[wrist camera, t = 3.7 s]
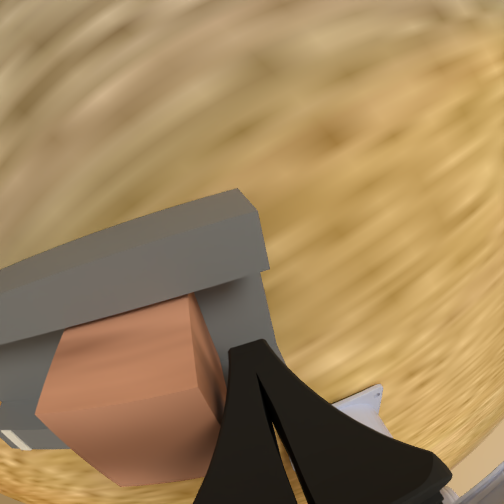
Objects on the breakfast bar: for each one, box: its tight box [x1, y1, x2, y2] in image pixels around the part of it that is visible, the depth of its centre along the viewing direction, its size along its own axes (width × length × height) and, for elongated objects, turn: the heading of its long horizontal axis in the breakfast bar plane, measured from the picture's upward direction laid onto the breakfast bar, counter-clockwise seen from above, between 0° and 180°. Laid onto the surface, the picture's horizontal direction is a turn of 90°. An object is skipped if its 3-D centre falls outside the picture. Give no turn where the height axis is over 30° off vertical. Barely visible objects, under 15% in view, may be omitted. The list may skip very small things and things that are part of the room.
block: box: [35, 292, 227, 487], centre depth 10 cm, size 5×5×6 cm
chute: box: [0, 188, 286, 450], centre depth 11 cm, size 10×18×3 cm, turn 102°
